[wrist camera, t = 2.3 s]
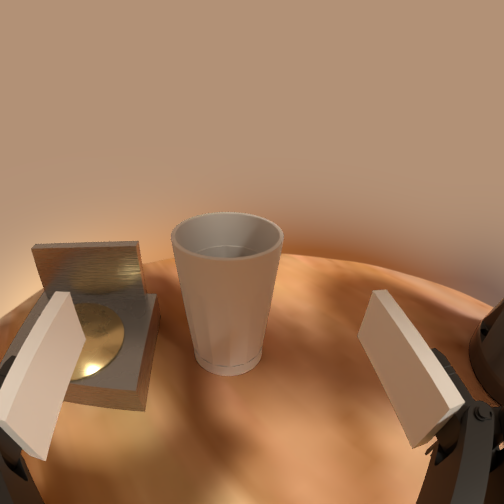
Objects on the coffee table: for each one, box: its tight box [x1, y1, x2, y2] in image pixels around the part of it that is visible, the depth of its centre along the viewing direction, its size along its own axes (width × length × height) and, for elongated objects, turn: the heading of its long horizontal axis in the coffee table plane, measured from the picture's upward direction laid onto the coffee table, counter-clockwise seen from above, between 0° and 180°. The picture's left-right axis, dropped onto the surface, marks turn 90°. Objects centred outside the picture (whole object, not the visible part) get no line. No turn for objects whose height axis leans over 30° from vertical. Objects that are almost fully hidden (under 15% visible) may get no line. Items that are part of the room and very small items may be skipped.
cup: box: [171, 212, 284, 376], centre depth 24 cm, size 8×8×12 cm
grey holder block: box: [0, 241, 161, 411], centre depth 22 cm, size 14×12×9 cm
